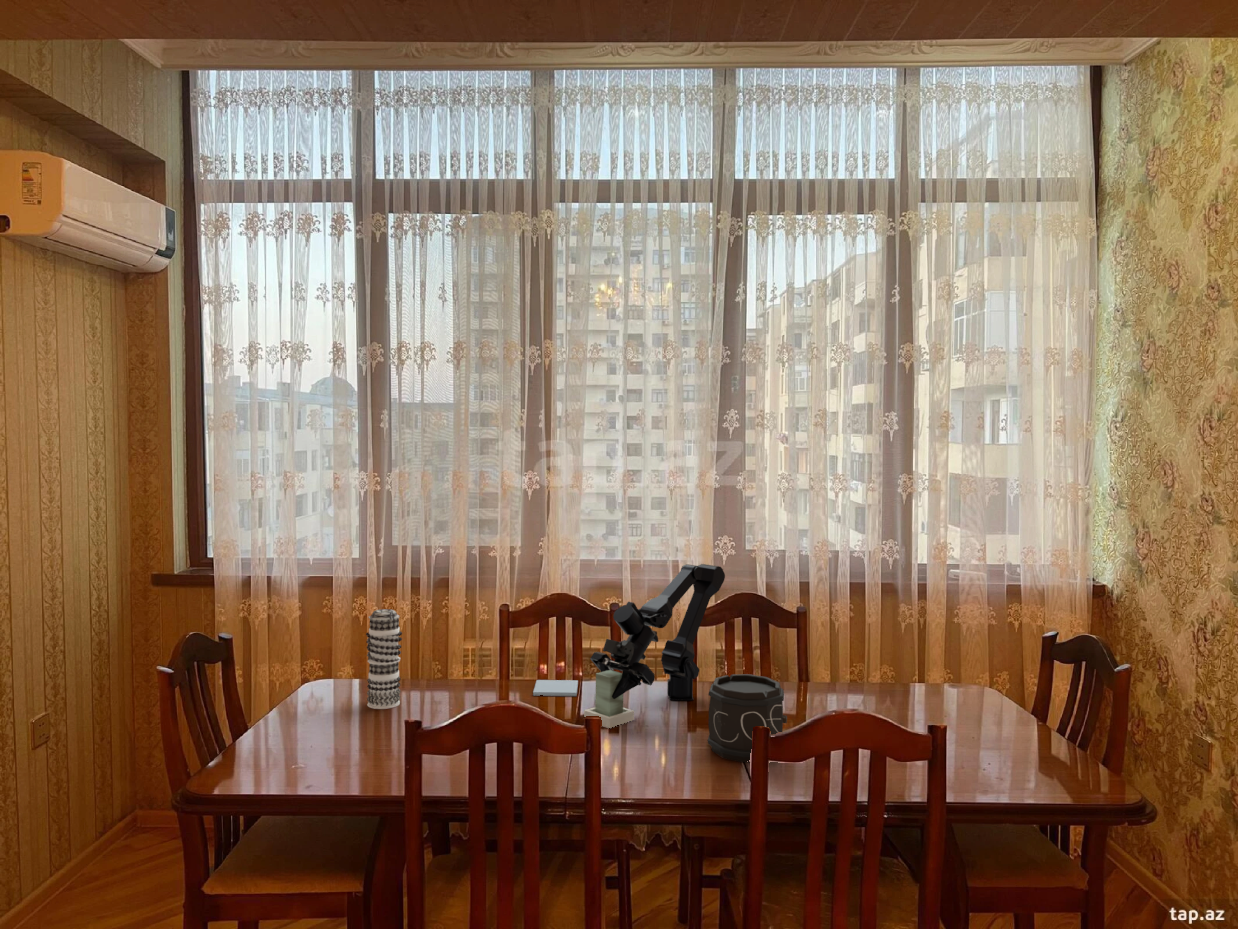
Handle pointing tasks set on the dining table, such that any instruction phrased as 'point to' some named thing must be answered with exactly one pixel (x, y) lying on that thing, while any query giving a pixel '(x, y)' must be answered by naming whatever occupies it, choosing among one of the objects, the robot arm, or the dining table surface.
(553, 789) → the dining table surface
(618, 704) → the green block
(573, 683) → the slate pad
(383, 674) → the decorative candle
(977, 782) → the dining table surface
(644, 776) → the dining table surface
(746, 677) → the dark grey coffee canister
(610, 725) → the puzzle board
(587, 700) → the dining table surface
